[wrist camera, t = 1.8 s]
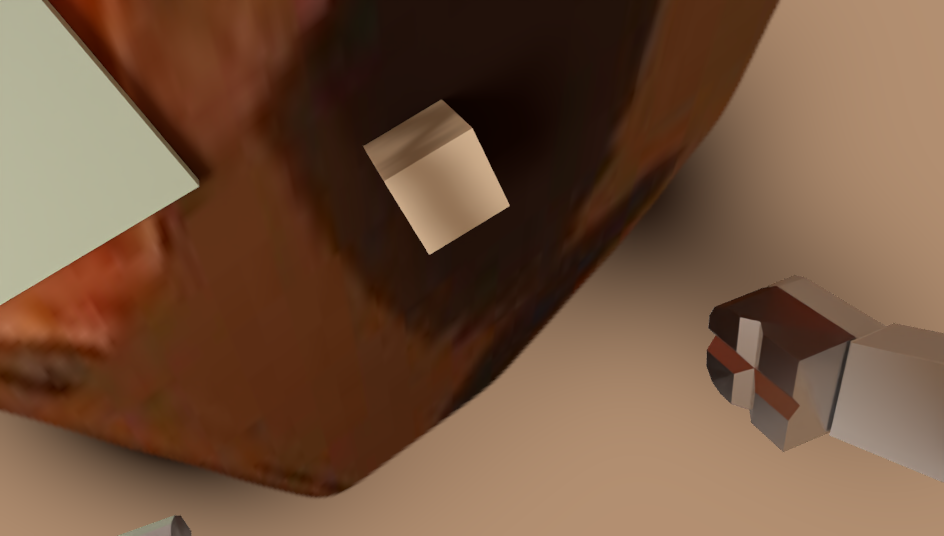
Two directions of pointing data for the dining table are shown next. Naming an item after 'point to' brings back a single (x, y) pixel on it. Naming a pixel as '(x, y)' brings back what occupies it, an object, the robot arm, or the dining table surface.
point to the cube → (438, 175)
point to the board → (69, 150)
